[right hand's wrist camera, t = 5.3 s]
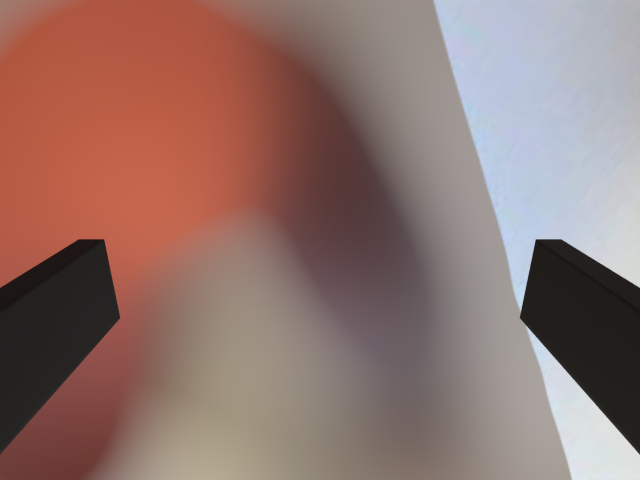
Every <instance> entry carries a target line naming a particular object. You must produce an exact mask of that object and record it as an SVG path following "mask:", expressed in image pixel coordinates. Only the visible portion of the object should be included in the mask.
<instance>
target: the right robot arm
mask: <svg viewBox="0 0 640 480" xmlns="http://www.w3.org/2000/svg"><path fill="white" fill-rule="evenodd" d="M119 319H120V315H119V310H118V305H117V300H116V295H115V291H114V286H113V281H112V276H111V271H110V266H109V261H108V256H107V251H106V246H105V242H104V239H79V240H77V241H76V242H74V243H72V244H71V245H69V246H68V247H66V248H64V249H63V250H61V251H59V252H58V253H56V254H55V255H53V256H51V257H50V258H48V259H46V260H45V261H43V262H41V263H40V264H38V265H37V266H35V267H33V268H32V269H30V270H28V271H27V272H25V273H24V274H22V275H20V276H19V277H17V278H16V279H14V280H12V281H11V282H9V283H7V284H6V285H4V286H3V287H1V288H0V454H1V453H2V452H3V451H4V450H5V448H6V447H7V446H8V445H9V444H10V443H11V442H12V440H13V439H14V438H15V437H16V436H17V435H18V434H19V433H20V431H21V430H22V429H23V428H24V427H25V426H26V425H27V423H28V422H29V421H30V420H31V419H32V418H33V417H34V415H35V414H36V413H37V412H38V411H39V410H40V409H41V408H42V406H43V405H44V404H45V403H46V402H47V401H48V400H49V398H50V397H51V396H52V395H53V394H54V393H55V392H56V390H57V389H58V388H59V387H60V386H61V385H62V384H63V383H64V381H65V380H66V379H67V378H68V377H69V376H70V375H71V373H72V372H73V371H74V370H75V369H76V368H77V367H78V365H79V364H80V363H81V362H82V361H83V360H84V359H85V357H86V356H87V355H88V354H89V353H90V352H91V351H92V350H93V348H94V347H95V346H96V345H97V344H98V343H99V342H100V340H101V339H102V338H103V337H104V336H105V335H106V334H107V332H108V331H109V330H110V329H111V328H112V327H113V326H114V325H115V323H116V322H117V321H118V320H119ZM520 319H521V320H522V321H523V322H524V323H525V325H526V326H527V327H528V328H529V329H530V330H531V331H532V332H533V334H534V335H535V336H536V337H537V338H538V339H539V340H540V342H541V343H542V344H543V345H544V346H545V347H546V348H547V350H548V351H549V352H550V353H551V354H552V355H553V356H554V357H555V359H556V360H557V361H558V362H559V363H560V364H561V365H562V367H563V368H564V369H565V370H566V371H567V372H568V373H569V375H570V376H571V377H572V378H573V379H574V380H575V381H576V383H577V384H578V385H579V386H580V387H581V388H582V389H583V390H584V392H585V393H586V394H587V395H588V396H589V397H590V398H591V400H592V401H593V402H594V403H595V404H596V405H597V406H598V408H599V409H600V410H601V411H602V412H603V413H604V414H605V415H606V417H607V418H608V419H609V420H610V421H611V422H612V423H613V425H614V426H615V427H616V428H617V429H618V430H619V431H620V433H621V434H622V435H623V436H624V437H625V438H626V439H627V440H628V442H629V443H630V444H631V445H632V446H633V447H634V448H635V450H636V451H637V452H638V453H639V454H640V288H639V287H637V286H636V285H634V284H633V283H631V282H629V281H628V280H626V279H624V278H623V277H621V276H620V275H618V274H616V273H615V272H613V271H611V270H610V269H608V268H607V267H605V266H603V265H602V264H600V263H599V262H597V261H595V260H594V259H592V258H590V257H589V256H587V255H586V254H584V253H582V252H581V251H579V250H577V249H576V248H574V247H573V246H571V245H569V244H568V243H566V242H564V241H563V240H561V239H536V242H535V246H534V251H533V256H532V261H531V266H530V271H529V276H528V281H527V286H526V290H525V295H524V300H523V305H522V310H521V315H520Z"/></svg>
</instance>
